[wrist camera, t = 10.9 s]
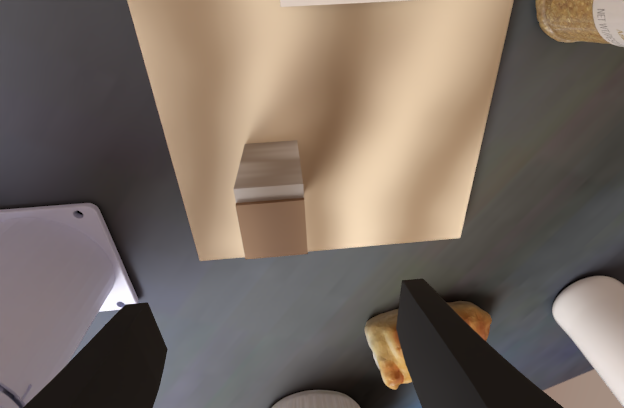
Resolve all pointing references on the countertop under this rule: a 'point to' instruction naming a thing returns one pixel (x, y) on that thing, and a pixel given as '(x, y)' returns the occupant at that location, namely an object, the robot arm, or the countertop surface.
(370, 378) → the countertop surface
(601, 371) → the drinking glass
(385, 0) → the tile
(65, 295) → the robot arm
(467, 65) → the board
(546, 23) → the sprinkles bottle
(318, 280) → the countertop surface
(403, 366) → the pastry
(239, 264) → the countertop surface
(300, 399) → the ramekin
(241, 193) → the tan wooden block
